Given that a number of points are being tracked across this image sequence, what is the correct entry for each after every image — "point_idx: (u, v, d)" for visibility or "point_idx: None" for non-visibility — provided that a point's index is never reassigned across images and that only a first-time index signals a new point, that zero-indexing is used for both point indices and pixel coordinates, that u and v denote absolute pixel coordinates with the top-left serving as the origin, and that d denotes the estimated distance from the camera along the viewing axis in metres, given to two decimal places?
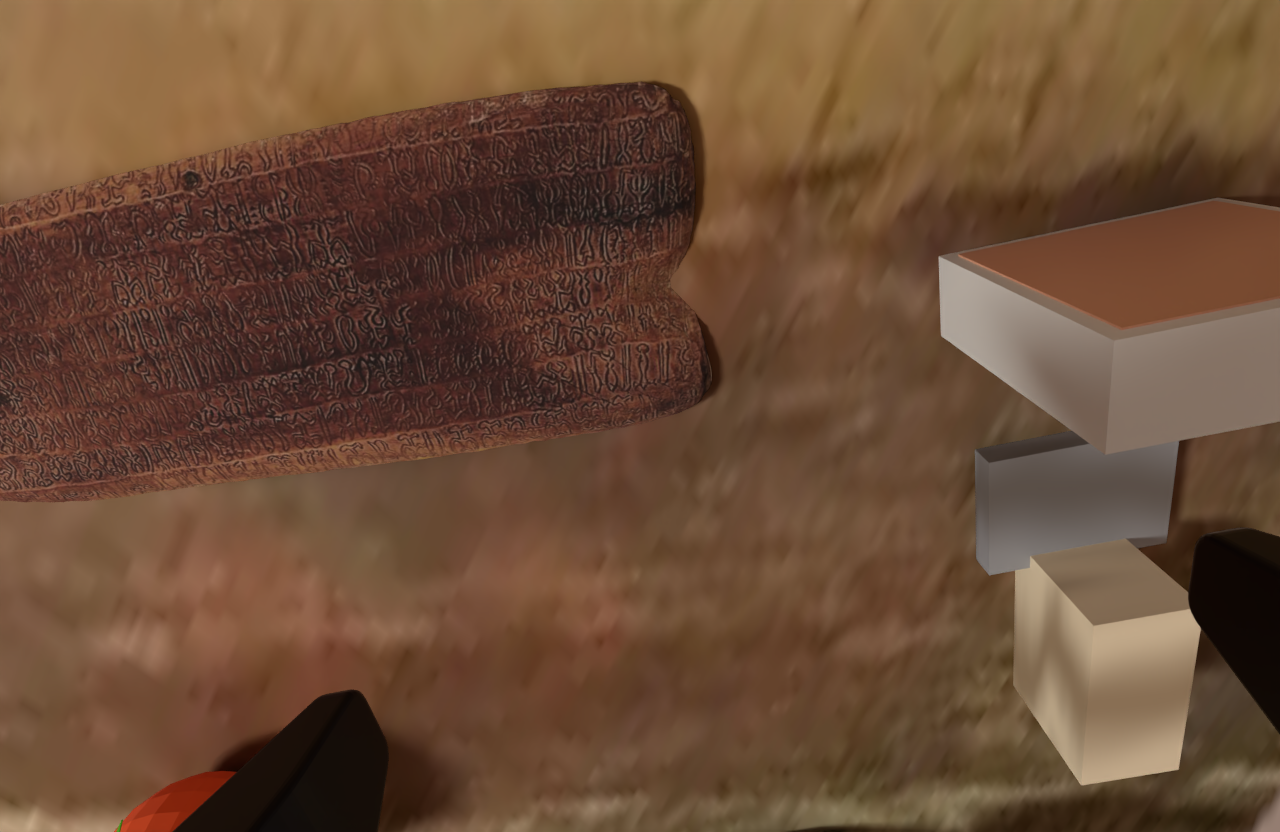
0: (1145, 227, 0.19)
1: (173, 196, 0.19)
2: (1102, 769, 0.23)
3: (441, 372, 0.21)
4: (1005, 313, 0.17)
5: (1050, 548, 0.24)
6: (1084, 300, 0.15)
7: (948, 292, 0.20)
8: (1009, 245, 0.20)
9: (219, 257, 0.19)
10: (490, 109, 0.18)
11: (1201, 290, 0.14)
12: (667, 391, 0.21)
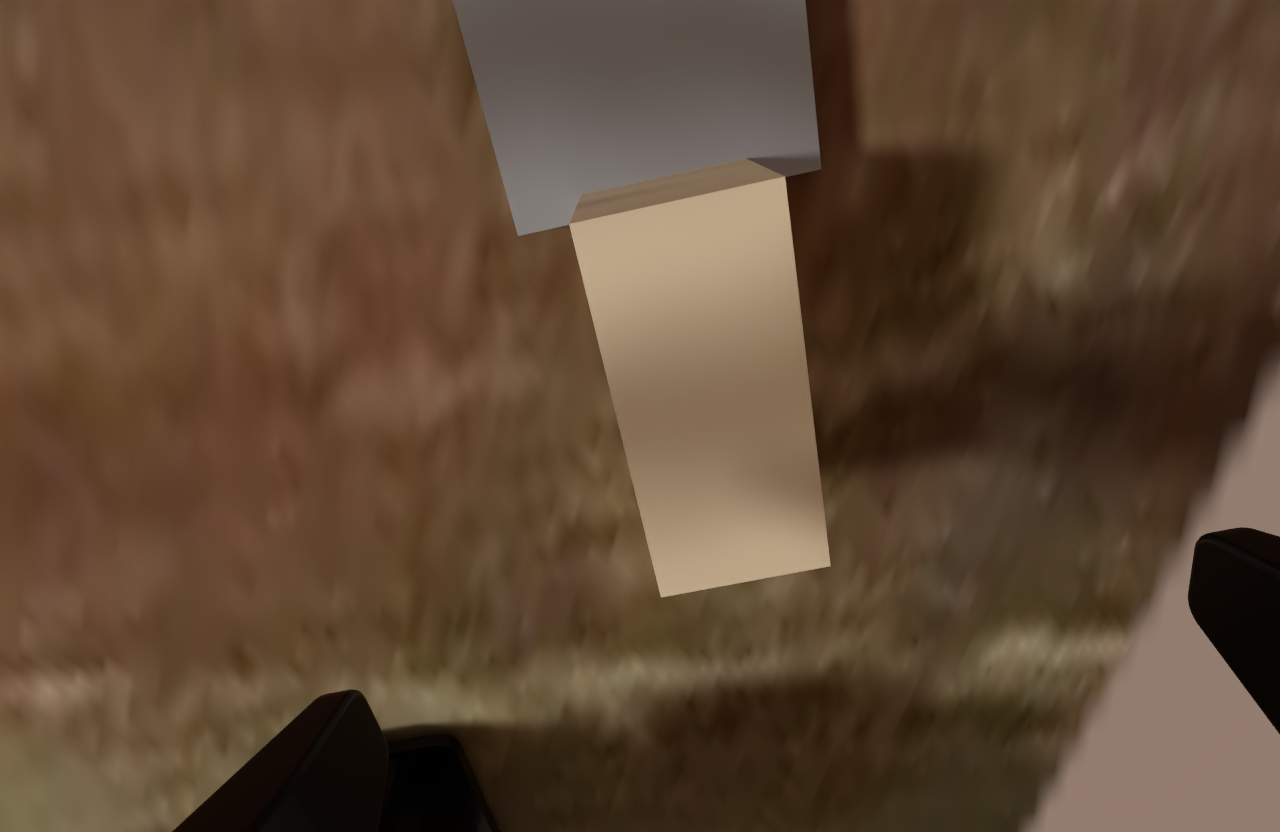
0: None
1: None
2: (690, 565, 0.13)
3: None
4: None
5: (613, 177, 0.13)
6: None
7: None
8: None
9: None
10: None
11: None
12: None
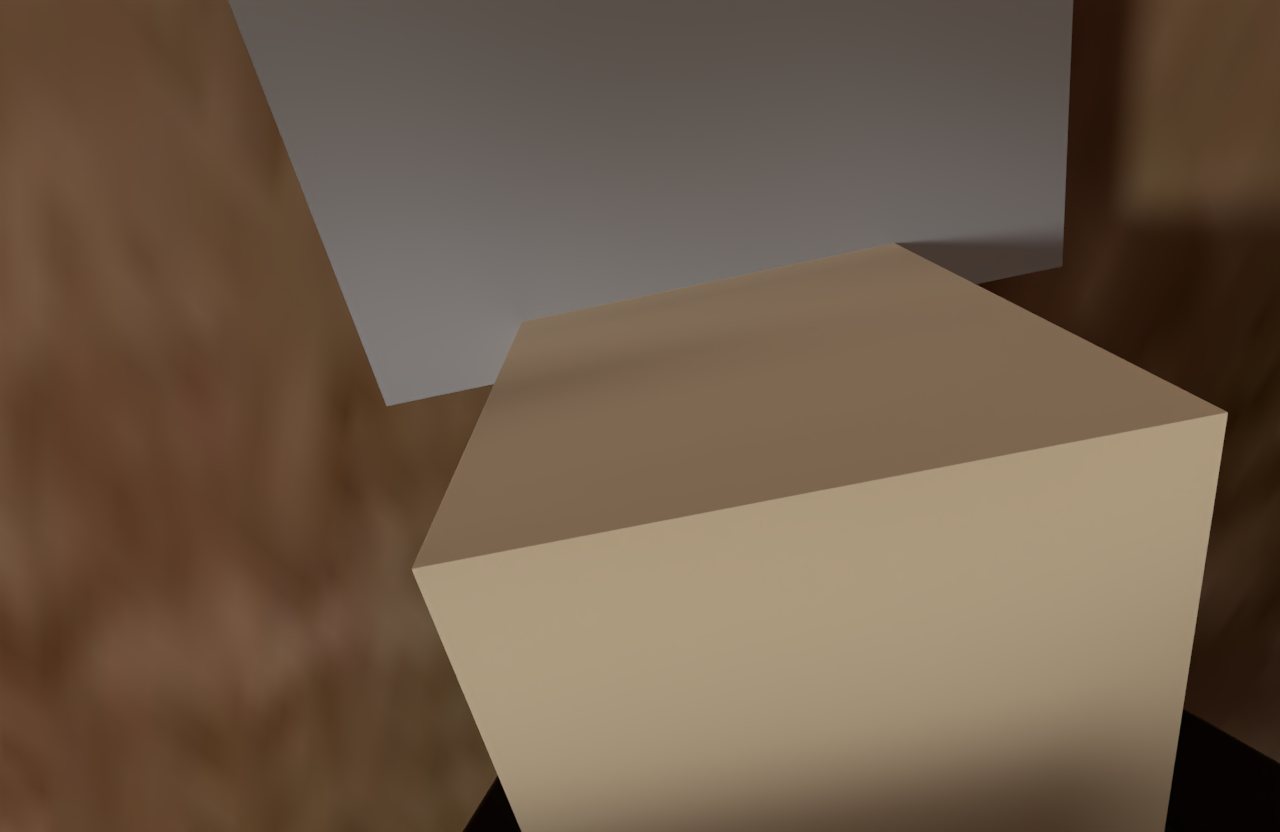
0: None
1: None
2: None
3: None
4: None
5: (594, 285, 0.06)
6: None
7: None
8: None
9: None
10: None
11: None
12: None
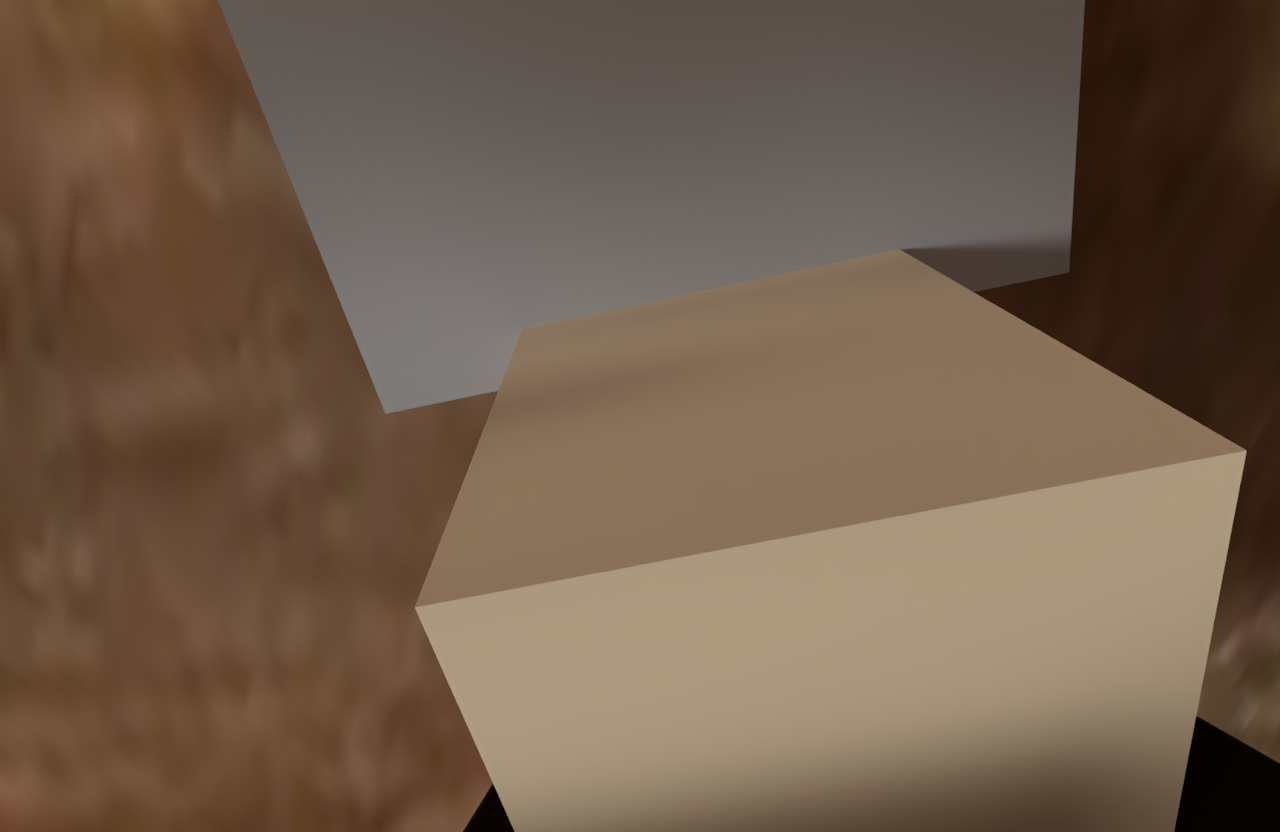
0: None
1: None
2: None
3: None
4: None
5: (596, 293, 0.06)
6: None
7: None
8: None
9: None
10: None
11: None
12: None
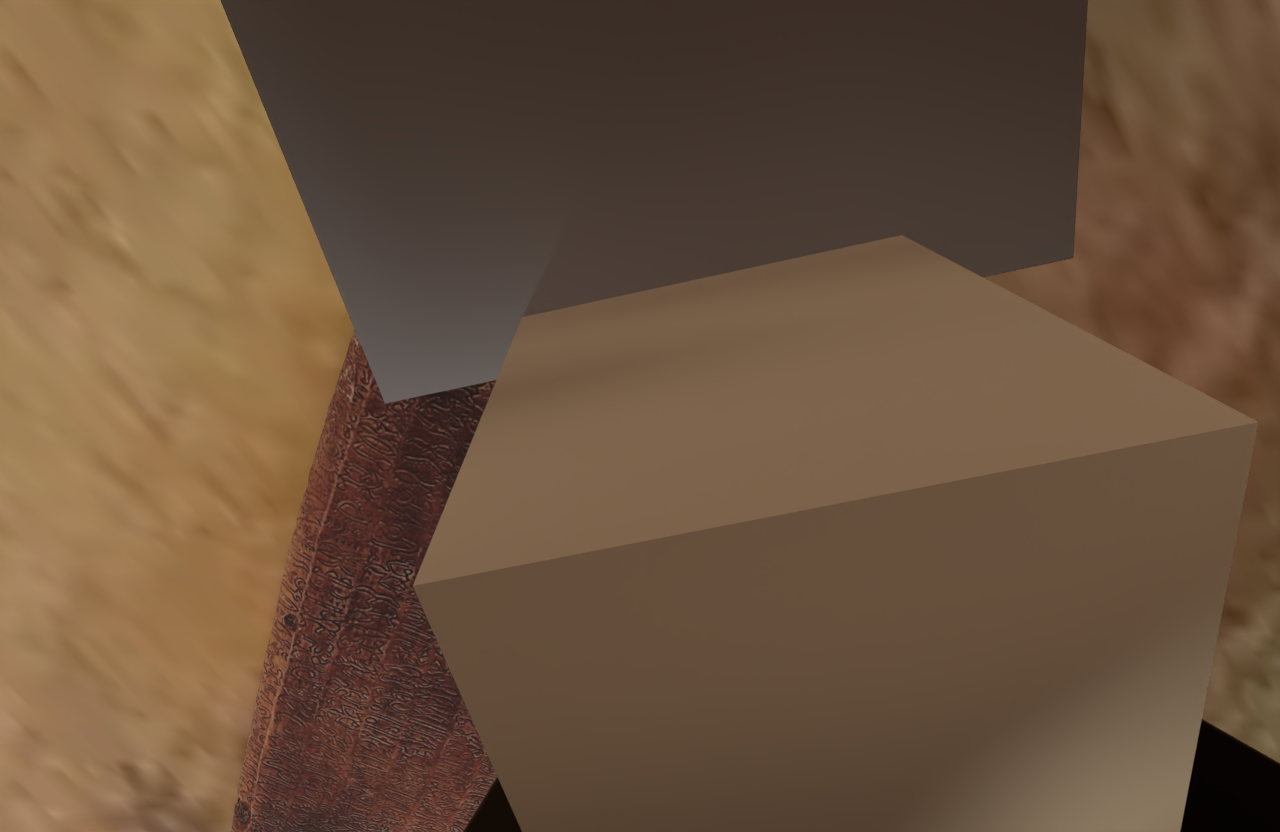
0: None
1: (295, 641, 0.21)
2: None
3: None
4: None
5: (596, 280, 0.06)
6: None
7: None
8: None
9: (355, 647, 0.21)
10: (349, 376, 0.18)
11: None
12: None
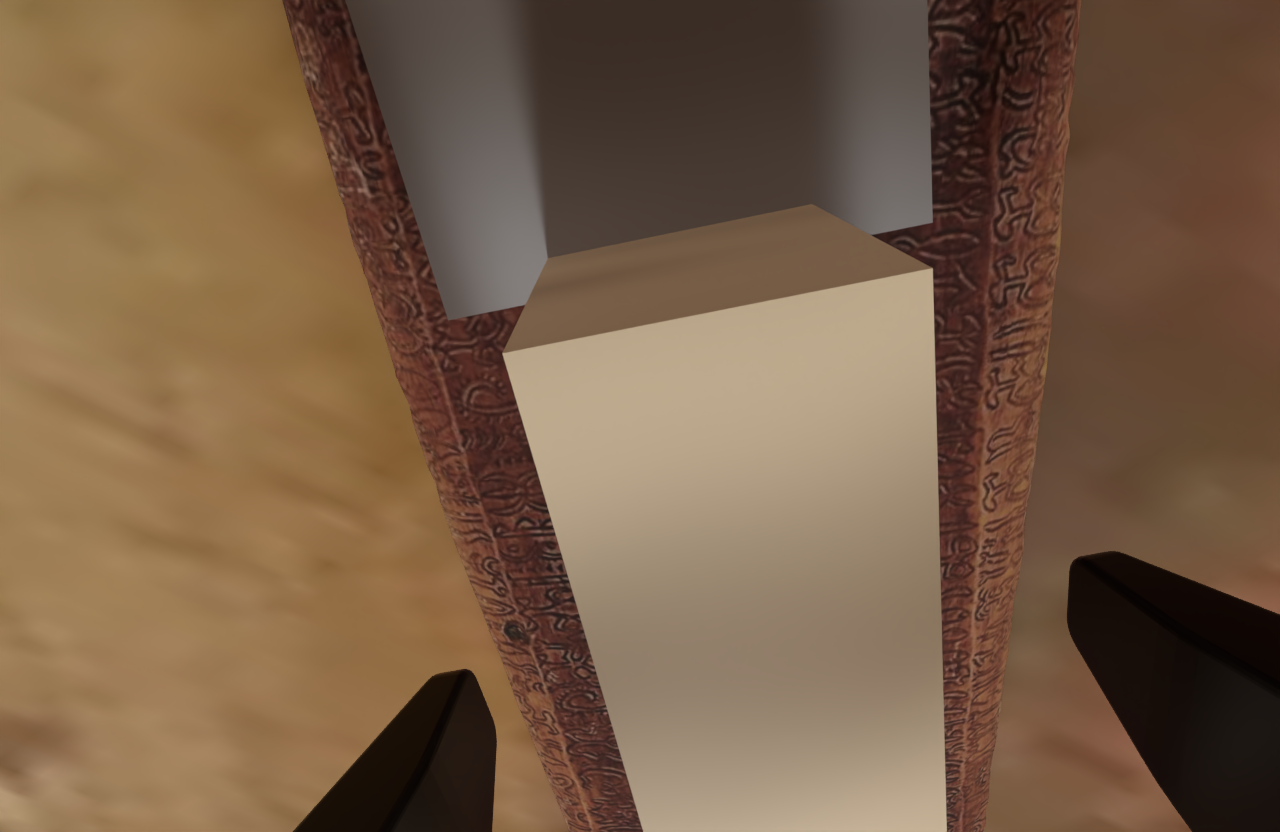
0: None
1: (538, 658, 0.13)
2: None
3: None
4: None
5: (599, 232, 0.08)
6: None
7: None
8: None
9: None
10: (341, 151, 0.09)
11: None
12: None
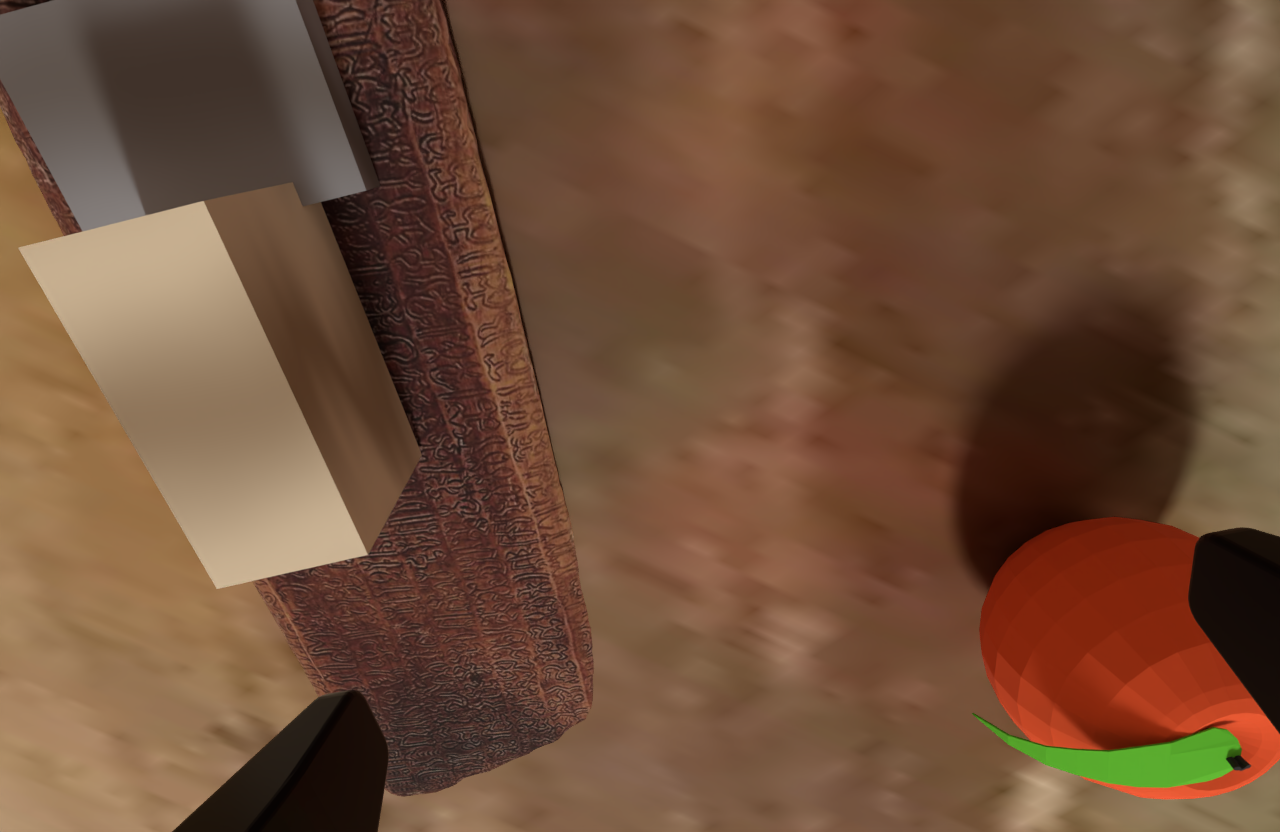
0: None
1: None
2: (234, 557, 0.14)
3: (368, 243, 0.16)
4: None
5: (174, 203, 0.15)
6: None
7: None
8: None
9: None
10: (30, 157, 0.15)
11: None
12: None
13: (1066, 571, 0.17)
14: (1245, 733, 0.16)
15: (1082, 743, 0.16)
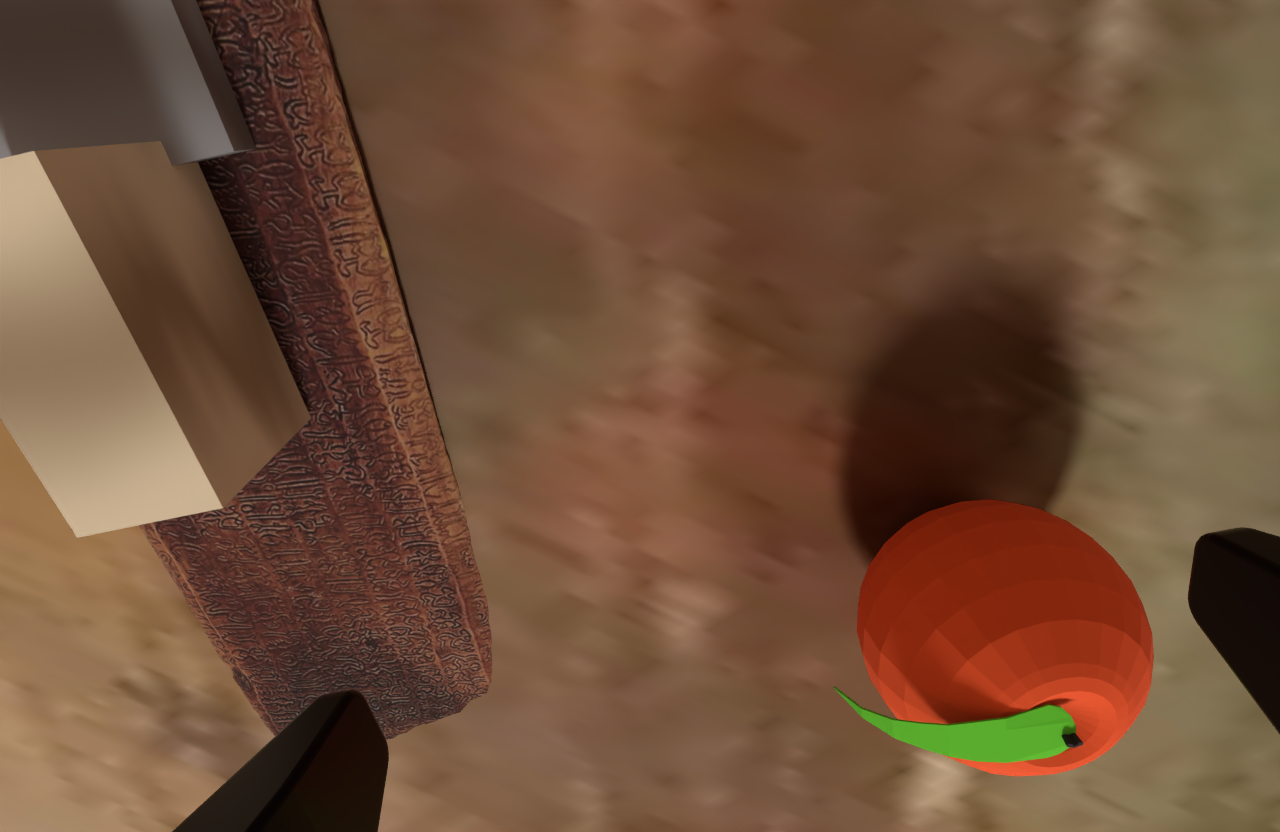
0: None
1: None
2: (92, 506, 0.14)
3: (239, 207, 0.16)
4: None
5: None
6: None
7: None
8: None
9: None
10: None
11: None
12: None
13: (928, 550, 0.17)
14: (1084, 711, 0.16)
15: (931, 718, 0.17)
